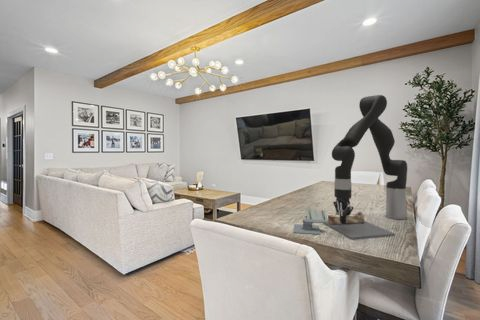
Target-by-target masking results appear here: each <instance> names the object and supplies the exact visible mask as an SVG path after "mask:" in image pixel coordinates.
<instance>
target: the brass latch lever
mask: <svg viewBox="0 0 480 320" xmlns="http://www.w3.org/2000/svg"><path fill="white" fill-rule="evenodd" d="M327 218H328V223H330V224H342V223H340V215H336V214H333V215H332V214H331V215H327ZM364 221H365V214H363V213H362V215H359V214H358V213H351V215H348V216H346V223H358V222H359V223H364Z"/></svg>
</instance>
